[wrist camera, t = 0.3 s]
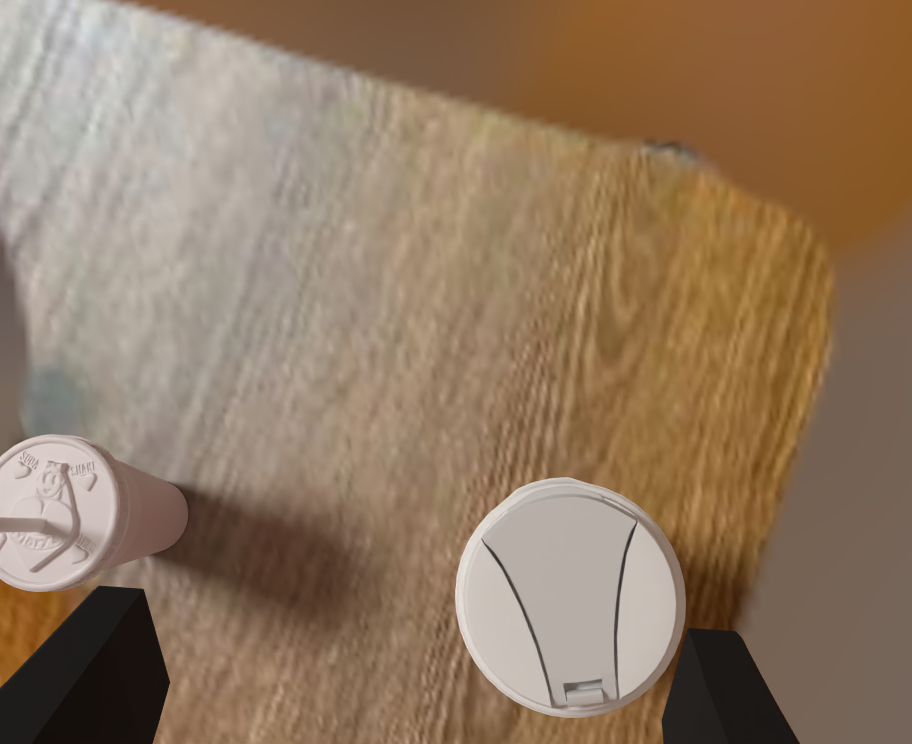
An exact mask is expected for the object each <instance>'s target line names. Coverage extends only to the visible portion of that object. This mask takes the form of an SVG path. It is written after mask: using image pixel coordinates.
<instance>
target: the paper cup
mask: <svg viewBox="0 0 912 744" xmlns="http://www.w3.org/2000/svg"><path fill="white" fill-rule="evenodd" d="M455 598H456V613H457V618H458V622H459V627H460V631H461V634H462V636H463V639H464V642H465V645H466V647H467V649H468V651H469V652H470V654H471V656H472V658H473V660H474V662H475V663H476V665H477V666H478V667H479V668H480V670H481V671H482V672H483V674H484V675H485V676H486V678H487V679H488V680H489V681H490V682H492V683H493V684H494V685H495V686H496V687H497V688H498V689H499V690H500V691H501V692H503V693H504V694H505V695H507V696H508V697H510V698H511V699H513V700H514V701H515V702H517V703H519V704H522V705H524V706H526V707H528V708H530V709H532V710H535V711H538V712H541V713H545V714H548V715H552V716H560V717H567V718H575V717H590V716H595V715H600V714H605V713H608V712H611V711H613V710H616V709H618V708H621V707H623V706H625V705H627V704H628V703H630V702H632V701H633V700H635V699H637V698H639V697H640V696H641V695H642V694H643V693H644V692H646V691H647V690H648V689H649V688H650V687H652V686H653V685H654V683H655V682H656V681H657V680H658V679H659V678H660V676H661V675H662V674H663V673H664V672H665V670H666V668H667V667H668V665H669V663H670V662H671V660H672V658H673V657H674V655H675V652H676V650H677V647H678V645H679V642H680V639H681V636H682V631H683V627H684V622H685V612H686V595H685V585H684V579H683V575H682V571H681V568H680V564H679V561H678V559H677V557H676V554H675V552H674V550H673V547H672V546H671V544H670V542H669V541H668V539H667V538H666V536H665V534H664V533H663V531H662V530H661V529H660V527H659V526H658V525H657V524H656V523H655V522H654V520H653V519H652V518H651V517H650V516H649V515H648V514H647V513H645V512H644V511H643V510H642V509H641V508H640V507H639V506H637V505H636V504H635V503H633V502H631V501H630V500H628V499H627V498H625V497H623V496H622V495H620V494H618V493H615V492H613V491H611V490H609V489H606V488H604V487H600V486H596V485H592V484H588V483H585V482H582V481H579V480H575V479H572V478H569V477H565V478H550V479H546V480H541V481H537V482H533V483H530V484H528V485H525V486H523V487H520V488H518V489H516V490H515V491H514V492H513V493H512V494H511V495H510V496H509V497H508V498H506V499H505V500H504V501H503V502H502V503H501V504H499V505H498V506H497V507H496V508H495V509H493V510H492V511H491V512H490V513H489V514H488V515H487V516H486V517H485V518H484V520H483V521H482V522H481V523H480V524H479V525H478V527H477V528H476V530H475V531H474V533H473V535H472V536H471V538H470V539H469V541H468V543H467V546H466V548H465V550H464V553H463V555H462V557H461V561H460V565H459V569H458V573H457V580H456V590H455Z"/></svg>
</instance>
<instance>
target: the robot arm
mask: <svg viewBox="0 0 912 744" xmlns="http://www.w3.org/2000/svg"><path fill="white" fill-rule="evenodd" d="M169 684H170V680H169V677H168V673H167V670H166V666H165V663H164V659H163V656H162V652H161V649H160V645H159V642H158V638H157V635H156V631H155V627H154V624H153V620H152V617H151V613H150V610H149V606H148V603H147V599H146V596H145V592H144V589H137V588H123V587H109V586H98V587H97V588H96V589H95V590H93V591H92V592H91V593H90V594H89V595H88V596H87V598H86V599H85V600H84V601H83V602H82V603H81V604H80V605H79V606H78V607H77V608H76V609H75V610H74V611H73V612H72V613H71V614H70V616H69V617H68V618H67V619H66V620H65V621H64V622H63V623H62V624H61V625H60V626H59V627H58V628H57V629H56V630H55V631H54V633H53V634H52V635H51V636H50V637H49V638H48V639H47V640H46V641H45V642H44V643H43V644H42V645H41V646H40V647H39V648H38V649H37V650H36V652H35V653H34V654H33V655H32V656H31V657H30V658H29V659H28V660H27V661H26V662H25V663H24V664H23V665H22V666H21V667H20V668H19V669H18V670H17V671H16V672H15V673H14V674H13V675H12V677H11V678H10V679H9V680H8V681H7V682H6V683H5V684H4V685H3V686H2V687H1V688H0V744H152V743H153V740H154V737H155V734H156V730H157V727H158V724H159V720H160V717H161V713H162V710H163V706H164V702H165V699H166V695H167V692H168V688H169ZM662 729H663V742H664V744H800V743H799V741H798V740H797V738H796V736H795V735H794V733H793V731H792V730H791V728H790V726H789V724H788V722H787V721H786V719H785V717H784V715H783V714H782V712H781V710H780V709H779V707H778V705H777V703H776V701H775V700H774V698H773V696H772V694H771V692H770V690H769V689H768V687H767V685H766V683H765V681H764V679H763V678H762V676H761V674H760V672H759V670H758V668H757V666H756V664H755V662H754V661H753V658H752V657H751V655H750V653H749V651H748V649H747V647H746V645H745V643H744V641H743V639H742V638H741V636H740V635H739V634H738V633H737V632H735V631H721V630H707V629H693V628H688V630H687V634H686V637H685V641H684V644H683V648H682V651H681V655H680V658H679V662H678V665H677V669H676V672H675V676H674V679H673V683H672V686H671V690H670V693H669V697H668V700H667V704H666V707H665V711H664V714H663V718H662Z"/></svg>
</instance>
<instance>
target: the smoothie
mask: <svg viewBox="0 0 912 744" xmlns="http://www.w3.org/2000/svg"><path fill="white" fill-rule="evenodd" d="M187 522H188V506H187V502H186V500H185V497H184V496H183V494H182V493H181V491H180V490H179V489H178V488H177V487H175V486H174V485H172V484H171V483H168V482H166V481H164V480H162V479H159V478H157V477H155V476H152V475H150V474H148V473H146V472H143V471H141V470H139V469H136V468H134V467H132V466H129V465H127V464H125V463H123V462H120V461H118V460H116V459H114V458H113V456H112V455H111V454H110V453H109V452H108V451H107V450H106V449H104V448H103V447H101V446H100V445H98V444H97V443H95V442H94V441H91V440H88V439H85V438H81V437H78V436H70V435H42V436H38V437H34V438H31V439H28V440H25V441H23V442H21V443H19V444H17V445H15V446H14V447H12V448H11V449H9V450H8V451H7V452H6V453H4V454H3V455H2V456H1V457H0V579H1V580H3V581H4V582H6V583H7V584H9V585H12V586H14V587H16V588H19V589H23V590H27V591H41V592H42V591H62V590H66V589H70V588H74V587H77V586H79V585H81V584H83V583H85V582H87V581H88V580H90V579H92V578H94V577H95V576H97V575H98V574H99V573H100V572H101V571H103V570H106V569H109V568H112V567H115V566H118V565H121V564H124V563H127V562H130V561H133V560H136V559H139V558H142V557H145V556H148V555H151V554H154V553H157V552H160V551H163V550H165V549H167V548H169V547H171V546H172V545H174V544H175V543H176V542H177V541H178V540H179V539H180V537H181V536H182V534H183V532H184V530H185V528H186V525H187Z"/></svg>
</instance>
